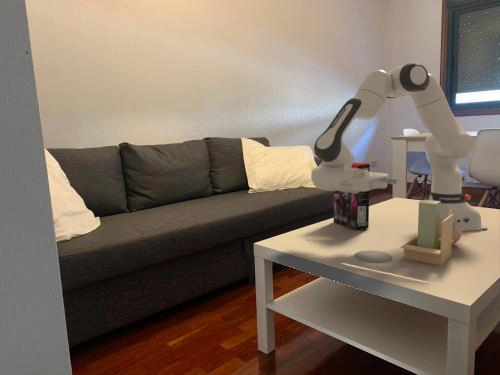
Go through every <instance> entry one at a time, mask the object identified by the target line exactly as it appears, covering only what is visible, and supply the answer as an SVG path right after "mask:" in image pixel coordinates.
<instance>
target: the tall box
mask: <svg viewBox="0 0 500 375" xmlns="http://www.w3.org/2000/svg"><path fill="white" fill-rule="evenodd" d="M440 205H441V201H433V200H429V199H423V200H420V201H419V202H418V216H417V217H418V219H417V223H418V224H417V225H418V226H417V235H418V243H417V246H419V247H425V248H431V249H437V250H438V249H439V227H440Z"/></svg>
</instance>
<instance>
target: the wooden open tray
mask: <svg viewBox="0 0 500 375" xmlns="http://www.w3.org/2000/svg"><path fill="white" fill-rule="evenodd" d="M452 231H453V214H452V215H450V216H449V217H448V218H446V219H445V220H443V221H442V229H441V238H440V237H439V249H438V250H437V249H431V248H425V247H419V246H417V243H418V234H417V235H416V236H415V237H413V238H412V239H410V240H409V241H407V242H406V243H404V244H403V245H402V246H400V249H402V250H403V259H405V260H412V261H417V262H421V263H427V264H433V265H437V266H442V265H444V264H445V263H446V261H448V259H449V258H450V257H451V256H452V247H453V244H452V243H453V242H454V239H452Z"/></svg>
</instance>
